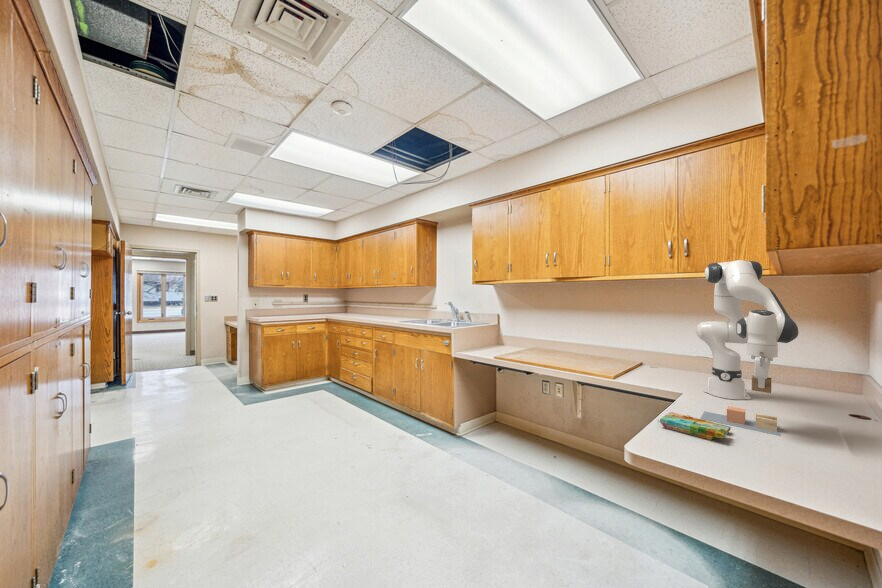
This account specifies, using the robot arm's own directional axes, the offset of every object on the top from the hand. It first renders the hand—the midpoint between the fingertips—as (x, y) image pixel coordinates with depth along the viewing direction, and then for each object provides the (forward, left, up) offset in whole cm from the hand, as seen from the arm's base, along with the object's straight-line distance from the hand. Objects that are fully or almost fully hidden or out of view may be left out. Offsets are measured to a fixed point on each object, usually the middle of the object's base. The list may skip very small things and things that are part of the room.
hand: (761, 386), depth 134 cm
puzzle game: (+21, -19, -18) cm, 33 cm away
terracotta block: (0, -8, -16) cm, 18 cm away
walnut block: (0, 0, -2) cm, 2 cm away
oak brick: (0, +1, -16) cm, 16 cm away
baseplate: (+1, -7, -17) cm, 19 cm away
